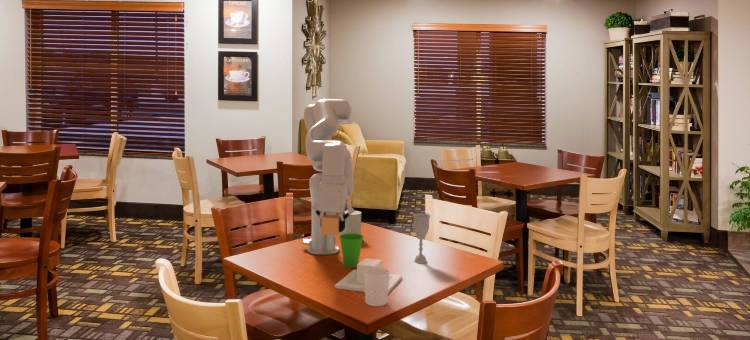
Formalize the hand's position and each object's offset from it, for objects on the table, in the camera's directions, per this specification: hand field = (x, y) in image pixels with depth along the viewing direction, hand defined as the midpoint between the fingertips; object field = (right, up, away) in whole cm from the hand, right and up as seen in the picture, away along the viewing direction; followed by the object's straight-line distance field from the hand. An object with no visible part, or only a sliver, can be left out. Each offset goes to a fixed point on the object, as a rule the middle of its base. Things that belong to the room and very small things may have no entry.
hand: (332, 229), depth 214 cm
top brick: (0, -1, 0) cm, 1 cm away
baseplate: (+13, -17, -7) cm, 23 cm away
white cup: (+15, -20, -25) cm, 36 cm away
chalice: (+32, -14, +19) cm, 40 cm away
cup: (+6, -15, +13) cm, 21 cm away
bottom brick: (+13, -16, -7) cm, 22 cm away
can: (+4, -9, +52) cm, 53 cm away
